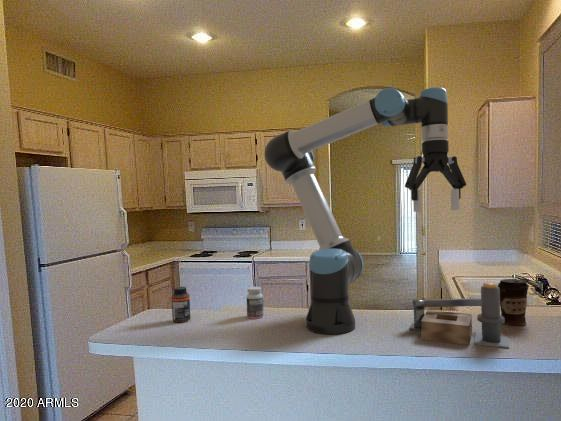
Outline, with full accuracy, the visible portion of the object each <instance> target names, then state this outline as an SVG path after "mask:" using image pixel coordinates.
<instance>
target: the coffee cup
mask: <svg viewBox="0 0 561 421" xmlns="http://www.w3.org/2000/svg"><path fill="white" fill-rule="evenodd" d="M497 287H499V289H500V315H501V316H503V317H504V318H505V322H504V323H503V324H506V325H511V326H525V325H526V324H527V322H526V310H527V307H528V291H529V287H530V285H529V284H528V283H527V281H526V280H524V279H518V278H505V279H500V281H499V282H498V284H497Z"/></svg>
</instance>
